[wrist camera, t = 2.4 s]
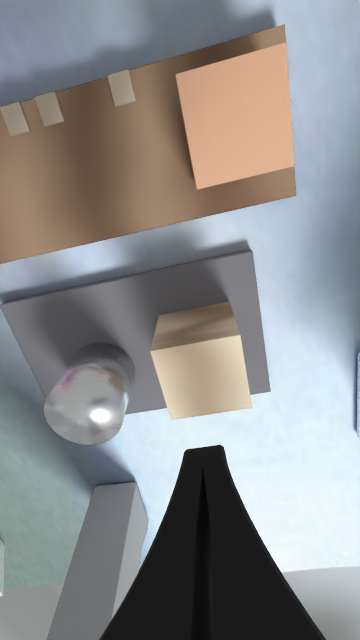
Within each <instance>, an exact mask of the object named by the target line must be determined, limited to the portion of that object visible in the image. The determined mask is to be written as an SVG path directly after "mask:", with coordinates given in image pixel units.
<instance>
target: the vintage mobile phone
mask: <svg viewBox="0 0 360 640" xmlns="http://www.w3.org/2000/svg"><path fill="white" fill-rule="evenodd" d="M147 528H148V517H147V514H146V511H145V508H144V505H143V502H142V499H141V496H140V493H139V490H138V487H137V484H136V483H135V482H129V483H119V484H109V485H98V486H96V487H94V490H93V494H92V497H91V500H90V503H89V506H88V509H87V513H86V516H85V519H84V522H83V525H82V529H81V532H80V535H79V538H78V541H77V544H76V548H75V551H74V554H73V557H72V560H71V564H70V567H69V570H68V573H67V576H66V579H65V583H64V586H63V589H62V592H61V595H60V599H59V602H58V605H57V608H56V611H55V615H54V618H53V621H52V624H51V627H50V630H49V633H48V637H47V640H99V639H100V637H101V636H102V634H103V633H104V631H105V629H106V628H107V626H108V625H109V623H110V621H111V620H112V618H113V617H114V615H115V613H116V612H117V610H118V608H119V607H120V605H121V603H122V601H123V600H124V598H125V596H126V594H127V592H128V591H129V589H130V587H131V585H132V583H133V581H134V579H135V578H136V576H137V574H138V571H139V564H140V556H141V549H142V545H143V542H144V539H145V535H146V532H147Z"/></svg>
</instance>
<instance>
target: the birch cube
mask: <svg viewBox="0 0 360 640" xmlns="http://www.w3.org/2000/svg"><path fill="white" fill-rule="evenodd" d="M150 352H151V355H152V359H153V362H154V365H155V369H156V372H157V375H158V379H159V382H160V385H161V389H162V392H163V395H164V399H165V402H166V405H167V408H168V412H169V415H170V418H171V420H175V419H182V418H188V417H195V416H201V415H208V414H215V413H221V412H228V411H234V410H241V409H247V408H252V404H251V398H250V391H249V385H248V379H247V373H246V367H245V361H244V355H243V348H242V342H241V336H240V332H239V329H238V326H237V323H236V320H235V317H234V314H233V311H232V307H231V304H230V302H225V303H220V304H214V305H209V306H204V307H199V308H194V309H189V310H184V311H179V312H174V313H168V314H163V315H159V317H158V321H157V325H156V329H155V333H154V337H153V342H152V346H151V350H150Z"/></svg>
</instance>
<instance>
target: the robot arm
mask: <svg viewBox="0 0 360 640" xmlns="http://www.w3.org/2000/svg"><path fill="white" fill-rule="evenodd" d="M357 436H358V438H359V439H360V352H359V353H358V377H357ZM99 640H326V639H325V637H324V636H323V635H322V633H321V632H320V630H319V629H318V628H317V626H316V625H315V623H314V622H313V621H312V619H311V617H310V616H309V614H308V613H307V612H306V610H305V608H304V607H303V606H302V604H301V602H300V601H299V599H298V598H297V596H296V595H295V593H294V592H293V590H292V589H291V587H290V586H289V584H288V583H287V581H286V580H285V578H284V576H283V575H282V573H281V572H280V570H279V568H278V567H277V565H276V563H275V562H274V560H273V558H272V557H271V555H270V553H269V552H268V550H267V548H266V546H265V545H264V543H263V541H262V539H261V537H260V536H259V534H258V532H257V530H256V528H255V526H254V524H253V522H252V521H251V519H250V517H249V515H248V513H247V511H246V509H245V506H244V504H243V502H242V500H241V498H240V496H239V493H238V491H237V489H236V487H235V484H234V482H233V479H232V476H231V474H230V471H229V468H228V464H227V460H226V455H225V451H224V447H223V446H221V445H216V446H209V447H202V448H194V449H187V450H186V451H185V452H184V456H183V460H182V464H181V468H180V472H179V475H178V478H177V481H176V485H175V488H174V490H173V493H172V496H171V499H170V502H169V505H168V507H167V510H166V513H165V515H164V517H163V520H162V522H161V525H160V527H159V529H158V532H157V534H156V537H155V539H154V541H153V543H152V545H151V548H150V550H149V552H148V554H147V556H146V558H145V560H144V562H143V564H142V566H141V568H140V570H139V572H138V574H137V576H136V578H135V579H134V581H133V583H132V585H131V587H130V589H129V591H128V592H127V594H126V596H125V598H124V600H123V601H122V603H121V605H120V607H119V608H118V610H117V612H116V613H115V615H114V617H113V618H112V620H111V621H110V623H109V625H108V626H107V628H106V629H105V631H104V633H103V634H102V636H101V637H100V639H99Z"/></svg>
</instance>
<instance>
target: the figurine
mask: <svg viewBox="0 0 360 640" xmlns="http://www.w3.org/2000/svg"><path fill="white" fill-rule="evenodd" d="M3 587H4V544H3V542H2V541H1V539H0V596H3Z"/></svg>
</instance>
